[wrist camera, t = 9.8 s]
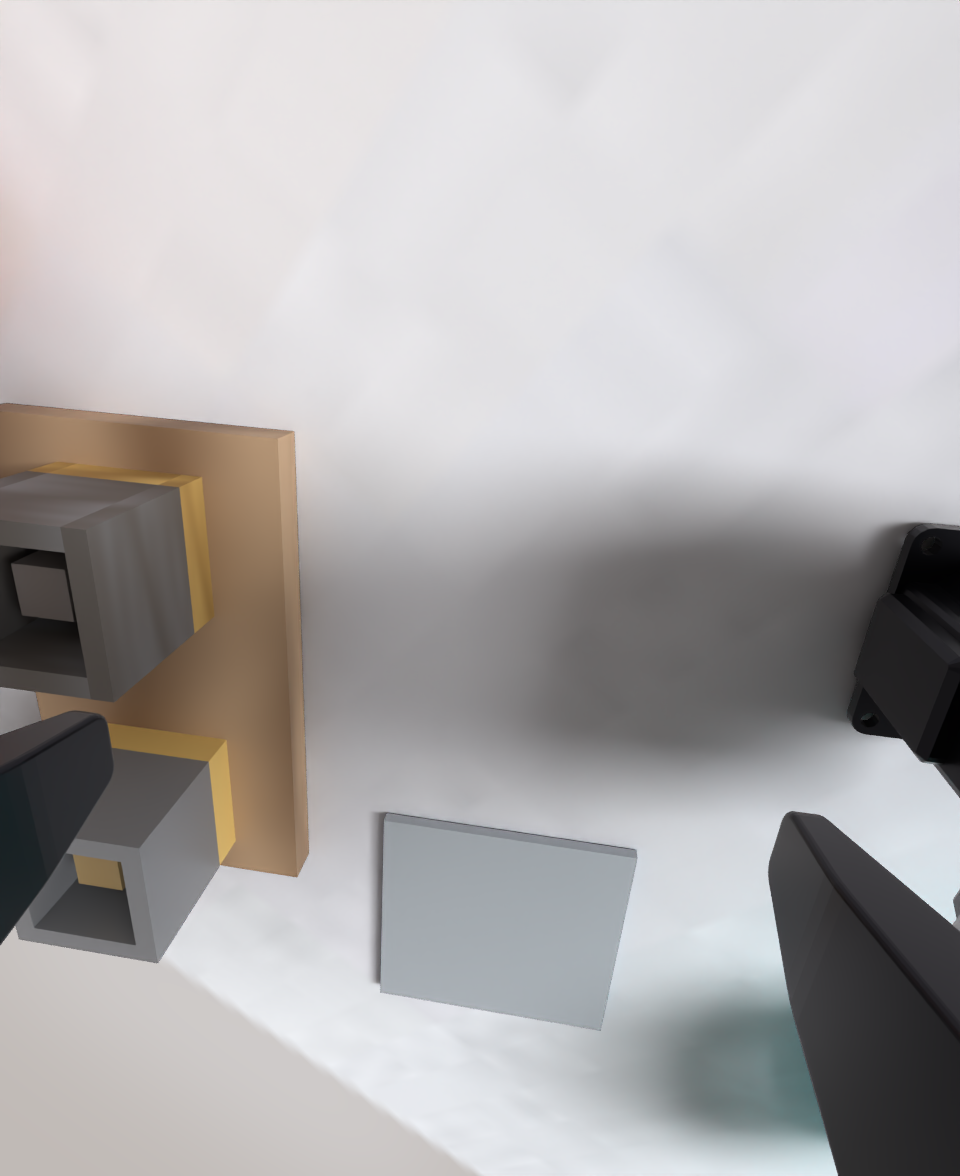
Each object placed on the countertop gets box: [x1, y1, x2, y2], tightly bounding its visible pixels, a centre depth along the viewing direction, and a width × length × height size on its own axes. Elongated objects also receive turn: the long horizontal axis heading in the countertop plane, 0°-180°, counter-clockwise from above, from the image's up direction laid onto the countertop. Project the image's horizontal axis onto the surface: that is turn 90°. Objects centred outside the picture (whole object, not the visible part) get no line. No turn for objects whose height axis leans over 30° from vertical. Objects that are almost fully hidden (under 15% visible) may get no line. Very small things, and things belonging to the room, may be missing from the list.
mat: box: [380, 813, 637, 1031], centre depth 26 cm, size 9×9×1 cm
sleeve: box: [15, 723, 236, 963], centre depth 22 cm, size 4×4×5 cm
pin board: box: [0, 403, 309, 891], centre depth 20 cm, size 9×16×6 cm, turn 176°
